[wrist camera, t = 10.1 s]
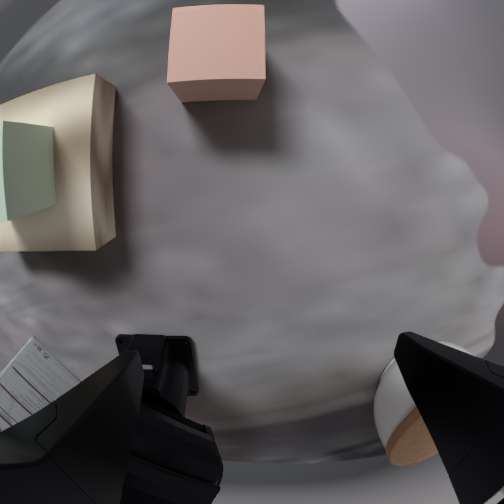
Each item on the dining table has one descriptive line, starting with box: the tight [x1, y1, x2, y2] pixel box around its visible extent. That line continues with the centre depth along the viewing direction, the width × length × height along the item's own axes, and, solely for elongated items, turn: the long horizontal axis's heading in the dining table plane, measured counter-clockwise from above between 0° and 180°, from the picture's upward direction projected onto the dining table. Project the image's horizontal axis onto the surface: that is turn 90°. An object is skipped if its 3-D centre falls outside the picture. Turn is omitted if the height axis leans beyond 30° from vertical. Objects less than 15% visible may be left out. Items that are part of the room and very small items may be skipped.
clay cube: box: [167, 4, 266, 102], centre depth 14 cm, size 5×5×5 cm
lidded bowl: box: [373, 341, 477, 466], centre depth 20 cm, size 13×13×11 cm
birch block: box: [0, 74, 116, 252], centre depth 15 cm, size 11×11×4 cm
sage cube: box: [0, 121, 57, 222], centre depth 11 cm, size 5×5×5 cm
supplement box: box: [0, 337, 80, 432], centre depth 16 cm, size 7×7×13 cm
